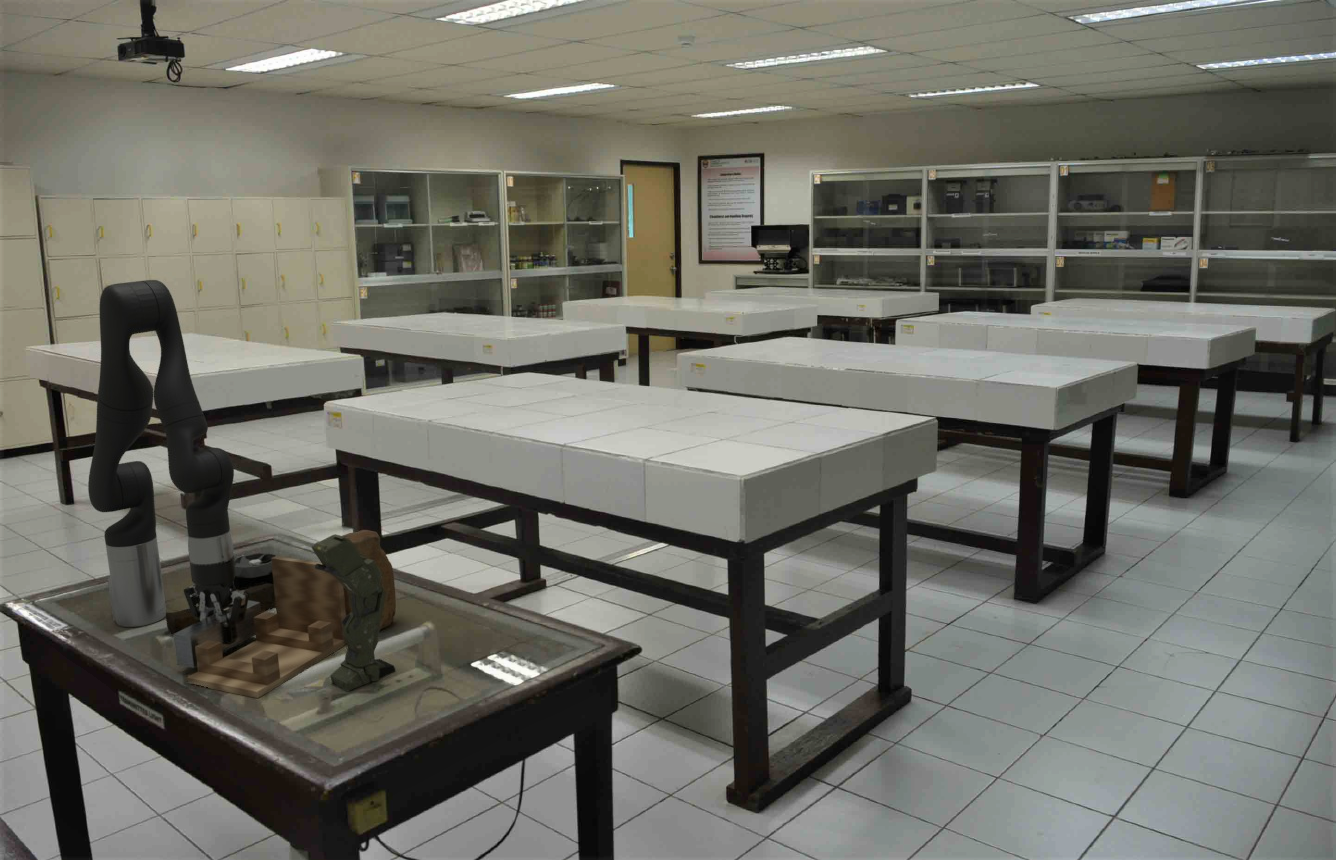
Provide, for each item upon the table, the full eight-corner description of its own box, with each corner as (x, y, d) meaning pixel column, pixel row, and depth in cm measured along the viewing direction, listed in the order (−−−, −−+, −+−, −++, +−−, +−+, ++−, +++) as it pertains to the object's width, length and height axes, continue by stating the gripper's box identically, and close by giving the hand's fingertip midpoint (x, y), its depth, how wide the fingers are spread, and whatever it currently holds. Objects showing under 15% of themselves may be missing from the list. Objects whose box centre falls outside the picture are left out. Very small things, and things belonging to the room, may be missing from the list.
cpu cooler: (278, 562, 218) (229, 569, 214) (280, 586, 219) (231, 593, 215) (276, 549, 227) (229, 555, 223) (279, 572, 228) (232, 578, 224)
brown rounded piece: (351, 641, 189) (343, 544, 184) (334, 630, 194) (325, 535, 190) (402, 625, 196) (394, 531, 192) (384, 615, 201) (376, 523, 197)
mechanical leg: (392, 651, 182) (348, 518, 171) (414, 661, 178) (371, 525, 167) (333, 692, 173) (282, 554, 162) (355, 703, 169) (304, 563, 158)
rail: (177, 664, 176) (173, 634, 175) (247, 627, 192) (244, 599, 190) (193, 668, 175) (190, 637, 173) (263, 630, 190) (260, 602, 189)
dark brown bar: (172, 639, 191) (169, 613, 190) (166, 632, 195) (162, 606, 194) (288, 610, 206) (285, 585, 204) (280, 603, 209) (277, 579, 208)
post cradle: (187, 683, 172) (176, 599, 169) (283, 632, 193) (275, 556, 190) (257, 698, 166) (248, 611, 163) (348, 643, 188) (341, 565, 184)
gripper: (166, 557, 178) (176, 643, 182) (225, 567, 173) (235, 655, 177) (198, 544, 185) (207, 627, 189) (256, 553, 180) (265, 638, 184)
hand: (221, 640), depth 183 cm, fingers closed on rail, 4 cm apart
